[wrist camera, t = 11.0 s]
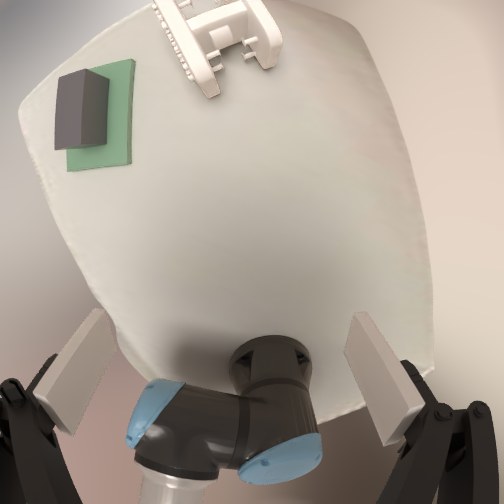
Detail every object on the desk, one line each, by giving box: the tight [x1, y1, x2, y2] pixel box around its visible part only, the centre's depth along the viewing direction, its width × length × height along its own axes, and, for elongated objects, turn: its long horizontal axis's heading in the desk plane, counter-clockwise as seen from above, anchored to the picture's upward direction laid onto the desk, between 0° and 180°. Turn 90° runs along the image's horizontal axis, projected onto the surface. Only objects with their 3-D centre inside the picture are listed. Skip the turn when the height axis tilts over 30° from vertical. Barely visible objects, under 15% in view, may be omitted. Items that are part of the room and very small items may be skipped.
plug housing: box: [55, 69, 110, 150], centre depth 27 cm, size 10×4×7 cm, turn 179°
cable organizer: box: [152, 0, 283, 98], centre depth 24 cm, size 15×11×12 cm
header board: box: [67, 59, 135, 172], centre depth 29 cm, size 16×11×6 cm
